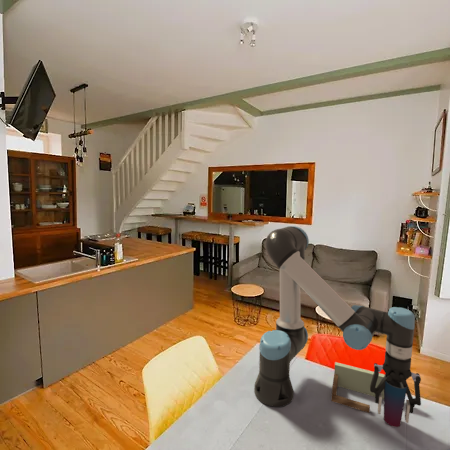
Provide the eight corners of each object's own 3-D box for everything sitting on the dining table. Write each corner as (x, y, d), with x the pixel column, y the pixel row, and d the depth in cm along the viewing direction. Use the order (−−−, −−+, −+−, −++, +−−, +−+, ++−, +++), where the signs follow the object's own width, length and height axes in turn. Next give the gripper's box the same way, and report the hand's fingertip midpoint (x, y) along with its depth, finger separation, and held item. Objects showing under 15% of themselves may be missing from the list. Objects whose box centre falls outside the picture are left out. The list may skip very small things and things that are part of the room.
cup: (407, 431, 94) (411, 389, 92) (384, 427, 96) (388, 386, 94) (398, 415, 101) (402, 376, 99) (378, 412, 102) (381, 373, 100)
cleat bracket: (331, 401, 107) (331, 389, 107) (333, 384, 116) (334, 373, 116) (369, 413, 102) (370, 400, 101) (368, 395, 111) (369, 383, 110)
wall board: (333, 384, 116) (334, 364, 115) (334, 382, 118) (335, 362, 117) (401, 404, 106) (403, 382, 105) (400, 401, 108) (403, 379, 106)
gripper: (364, 352, 96) (359, 412, 99) (437, 368, 87) (430, 435, 90) (364, 341, 103) (360, 398, 106) (432, 356, 94) (425, 418, 97)
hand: (392, 415), depth 98 cm, fingers open, 8 cm apart
